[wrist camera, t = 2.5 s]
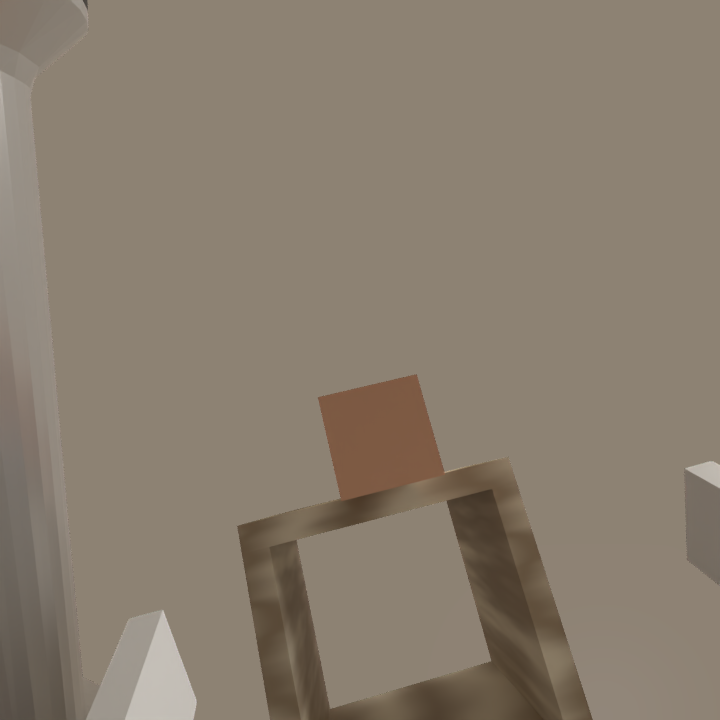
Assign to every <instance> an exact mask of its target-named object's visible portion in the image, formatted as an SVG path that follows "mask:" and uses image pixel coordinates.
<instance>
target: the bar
mask: <svg viewBox="0 0 720 720" xmlns="http://www.w3.org/2000/svg"><path fill="white" fill-rule="evenodd" d="M318 399H319V404H320V408H321V413H322V417H323V422H324V426H325V430H326V435H327V439H328V444H329V448H330V453H331V457H332V461H333V466H334V470H335V474H336V479H337V483H338V487H339V492H340V497H341V501H344V500H348V499H352V498H356V497H360V496H364V495H368V494H372V493H376V492H380V491H384V490H387V489H391V488H395V487H399V486H403V485H407V484H411V483H415V482H419V481H423V480H427V479H430V478H434V477H438V476H442V475H445V472H444V469H443V465H442V462H441V458H440V455H439V452H438V448H437V444H436V441H435V438H434V434H433V430H432V427H431V423H430V420H429V416H428V413H427V409H426V406H425V402H424V399H423V395H422V392H421V388H420V384H419V381H418V377H417V375H411V376H408V377H403V378H398V379H394V380H390V381H386V382H381V383H377V384H373V385H369V386H364V387H360V388H356V389H351V390H347V391H343V392H339V393H334V394H330V395H326V396H322V397H318Z"/></svg>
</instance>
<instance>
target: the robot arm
mask: <svg viewBox="0 0 720 720" xmlns="http://www.w3.org/2000/svg"><path fill="white" fill-rule="evenodd" d="M87 32H88V6H87V0H0V720H193V719H194V714H195V709H196V704H197V701H196V698H195V695H194V692H193V690H192V687H191V684H190V682H189V679H188V676H187V674H186V671H185V668H184V665H183V663H182V660H181V657H180V655H179V652H178V649H177V647H176V644H175V641H174V638H173V636H172V633H171V631H170V628H169V625H168V622H167V620H166V617H165V615H164V611H163V610H159V611H156V612H152V613H148V614H145V615H141V616H137V617H133V618H130V619H129V620H128V622H127V624H126V627H125V629H124V631H123V634H122V636H121V638H120V641H119V643H118V646H117V648H116V650H115V653H114V655H113V657H112V660H111V662H110V664H109V667H108V669H107V671H106V674H105V676H104V679H103V681H102V683H101V685H100V686H99V685H97V684H96V683H94V682H93V681H91V680H88V679H86V678H84V677H83V674H82V663H81V652H80V642H79V630H78V619H77V608H76V598H75V588H74V576H73V565H72V554H71V544H70V532H69V521H68V510H67V499H66V488H65V479H64V478H65V477H64V467H63V456H62V444H61V433H60V422H59V412H58V411H59V410H58V399H57V388H56V377H55V365H54V354H53V343H52V333H51V321H50V309H49V298H48V287H47V276H46V265H45V255H44V242H43V232H42V220H41V209H40V198H39V186H38V175H37V164H36V153H35V141H34V131H33V120H32V108H31V98H30V97H31V93H32V89H33V84H34V80H35V78H36V77H37V76H38V75H40V74H41V73H42V72H43V71H44V70H46V69H47V68H48V67H49V66H51V65H52V64H53V63H54V62H55V61H57V60H58V59H59V58H60V57H61V56H62V55H64V54H65V53H66V52H67V51H68V50H70V49H71V48H72V47H73V46H74V45H76V44H77V43H78V42H79V41H80V40H81V39H82V38H84V37H85V35H86V34H87ZM684 473H685V508H686V539H687V540H686V542H687V560H688V561H689V562H690V563H692V564H693V565H694V566H695V567H697V568H698V569H699V570H700V571H702V572H703V573H704V574H706V575H707V576H708V577H709V578H711V579H712V580H713V581H714V582H716V583H717V584H718V585H719V586H720V465H718V464H717V463H715V462H713V461H710V462H706V463H702V464H699V465H695V466H691V467H688V468H685V469H684Z"/></svg>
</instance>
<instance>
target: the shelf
mask: <svg viewBox="0 0 720 720" xmlns="http://www.w3.org/2000/svg"><path fill="white" fill-rule="evenodd" d="M443 501H447V504H448V508H449V511H450V515H451V518H452V521H453V525H454V529H455V532H456V536H457V539H458V543H459V547H460V550H461V554H462V557H463V561H464V564H465V568H466V572H467V575H468V579H469V582H470V585H471V589H472V593H473V597H474V600H475V603H476V607H477V611H478V614H479V618H480V621H481V625H482V628H483V632H484V636H485V639H486V643H487V646H488V650H489V653H490V657H491V662H488V663H484V664H481V665H478V666H474V667H471V668H468V669H464V670H461V671H457V672H454V673H451V674H447V675H444V676H441V677H437V678H434V679H430V680H427V681H424V682H420V683H417V684H414V685H411V686H407V687H403V688H400V689H397V690H393V691H390V692H386V693H384V694H380V695H377V696H373V697H370V698H366V699H363V700H360V701H356V702H353V703H349V704H346V705H343V706H339V707H336V708H332V709H330V707H329V702H328V697H327V692H326V686H325V681H324V677H323V672H322V667H321V661H320V656H319V651H318V646H317V642H316V636H315V631H314V626H313V621H312V616H311V611H310V606H309V601H308V596H307V591H306V586H305V581H304V576H303V571H302V566H301V561H300V556H299V551H298V546H297V539H301V538H305V537H309V536H313V535H316V534H320V533H324V532H328V531H332V530H336V529H340V528H343V527H347V526H351V525H355V524H359V523H363V522H367V521H370V520H374V519H378V518H382V517H386V516H389V515H393V514H397V513H401V512H405V511H409V510H412V509H416V508H420V507H424V506H428V505H432V504H435V503H439V502H443ZM237 527H238V533H239V539H240V544H241V551H242V557H243V562H244V568H245V574H246V580H247V586H248V592H249V598H250V603H251V609H252V615H253V621H254V627H255V633H256V639H257V645H258V651H259V657H260V662H261V668H262V674H263V680H264V686H265V692H266V698H267V703H268V710H269V715H270V720H592V716H591V713H590V710H589V707H588V704H587V701H586V697H585V694H584V691H583V688H582V685H581V682H580V679H579V676H578V673H577V669H576V666H575V663H574V660H573V657H572V654H571V651H570V648H569V644H568V641H567V638H566V635H565V632H564V629H563V626H562V623H561V619H560V616H559V613H558V610H557V607H556V604H555V601H554V598H553V595H552V592H551V588H550V585H549V582H548V579H547V576H546V573H545V570H544V566H543V564H542V560H541V557H540V554H539V551H538V548H537V545H536V542H535V539H534V535H533V532H532V529H531V526H530V523H529V520H528V516H527V513H526V510H525V507H524V504H523V501H522V498H521V495H520V492H519V489H518V485H517V482H516V479H515V476H514V473H513V470H512V467H511V463H510V460H509V457H505V458H501V459H497V460H492V461H489V462H484V463H480V464H475V465H471V466H467V467H462V468H459V469H454V470H450V471H446V472H445V475H442V476H438V477H434V478H430V479H427V480H423V481H419V482H415V483H411V484H407V485H403V486H399V487H395V488H391V489H387V490H384V491H380V492H376V493H372V494H368V495H364V496H360V497H356V498H352V499H348V500H344V501H341V498H340V499H337V500H333V501H329V502H325V503H321V504H317V505H313V506H309V507H305V508H301V509H297V510H294V511H289V512H285V513H282V514H278V515H274V516H271V517H267V518H264V519H260V520H257V521H253V522H250V523H246V524H242V525H239V526H237Z"/></svg>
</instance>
